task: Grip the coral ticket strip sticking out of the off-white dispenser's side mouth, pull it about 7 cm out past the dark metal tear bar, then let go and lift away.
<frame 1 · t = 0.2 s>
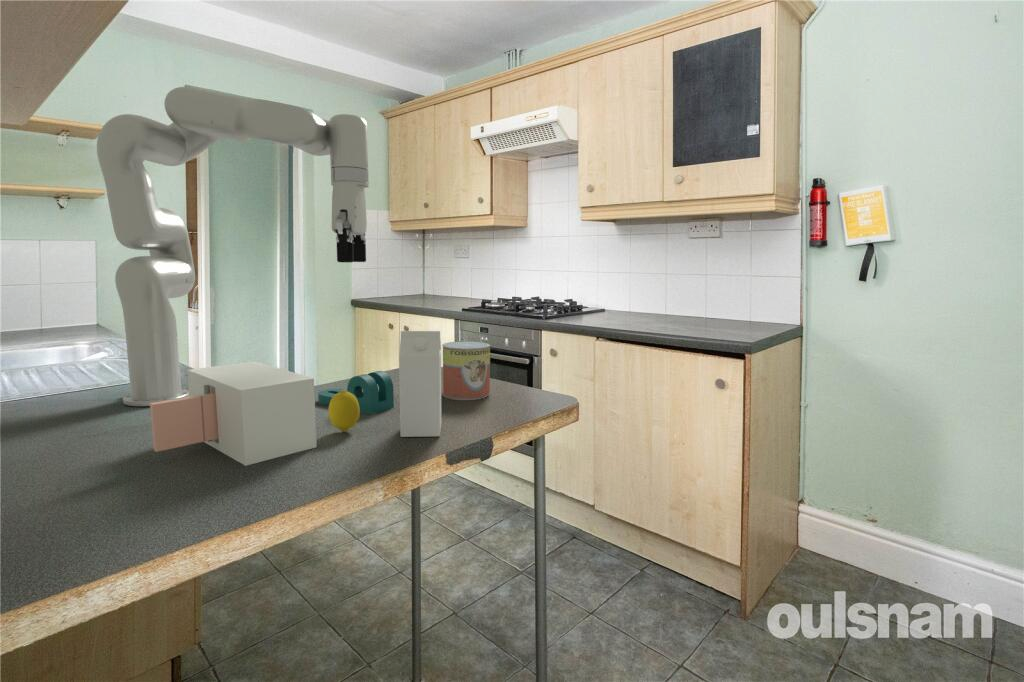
hand: (352, 262, 120), 31 cm above the counter, tool pointing down, fingers open, 9 cm apart
lemon: (345, 433, 105), on the counter
bracket: (352, 406, 124), on the counter
ticket strip: (214, 416, 94), point 6 cm above the counter, slide at 0.0 cm
ticket dispenser: (252, 440, 99), on the counter
canned food: (466, 395, 135), on the counter
milk carton: (421, 432, 106), on the counter
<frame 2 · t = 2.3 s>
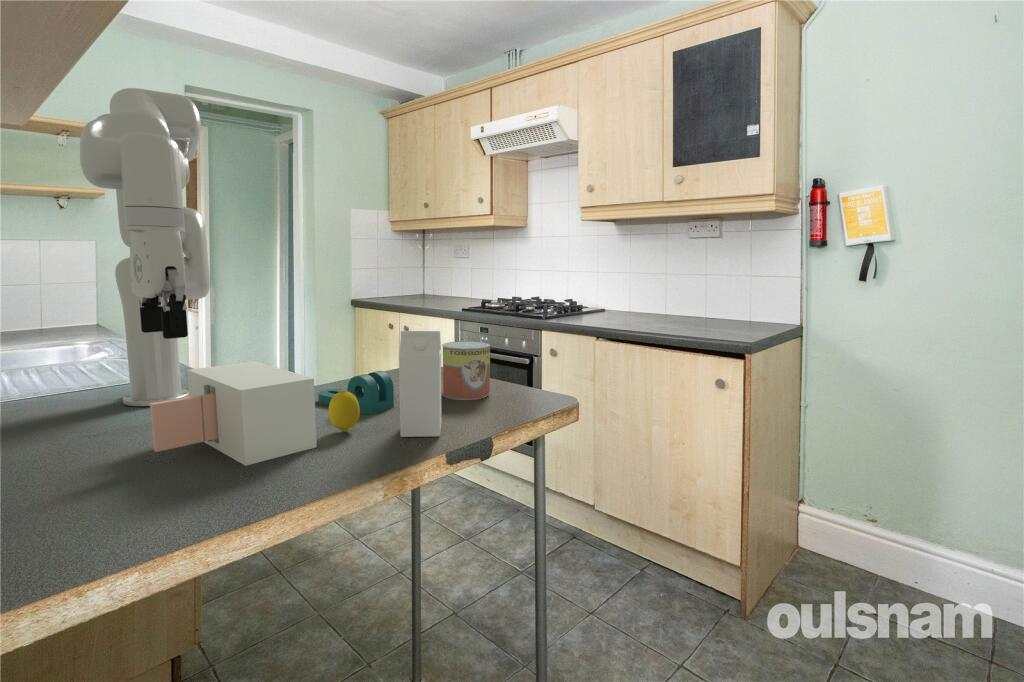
hand: (164, 334, 87), 20 cm above the counter, tool pointing down, fingers open, 9 cm apart
nothing on the counter moved.
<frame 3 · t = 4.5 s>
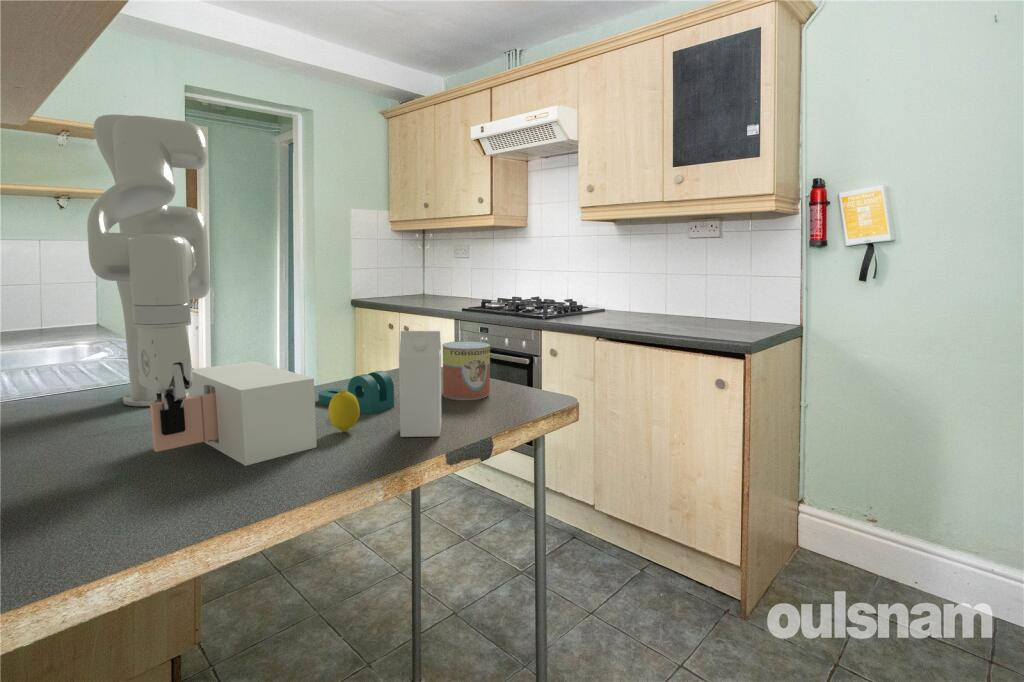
hand: (171, 431, 89), 5 cm above the counter, tool pointing down, fingers closed
ticket strip: (214, 416, 94), point 6 cm above the counter, slide at 0.0 cm, touching gripper
everything else where it was.
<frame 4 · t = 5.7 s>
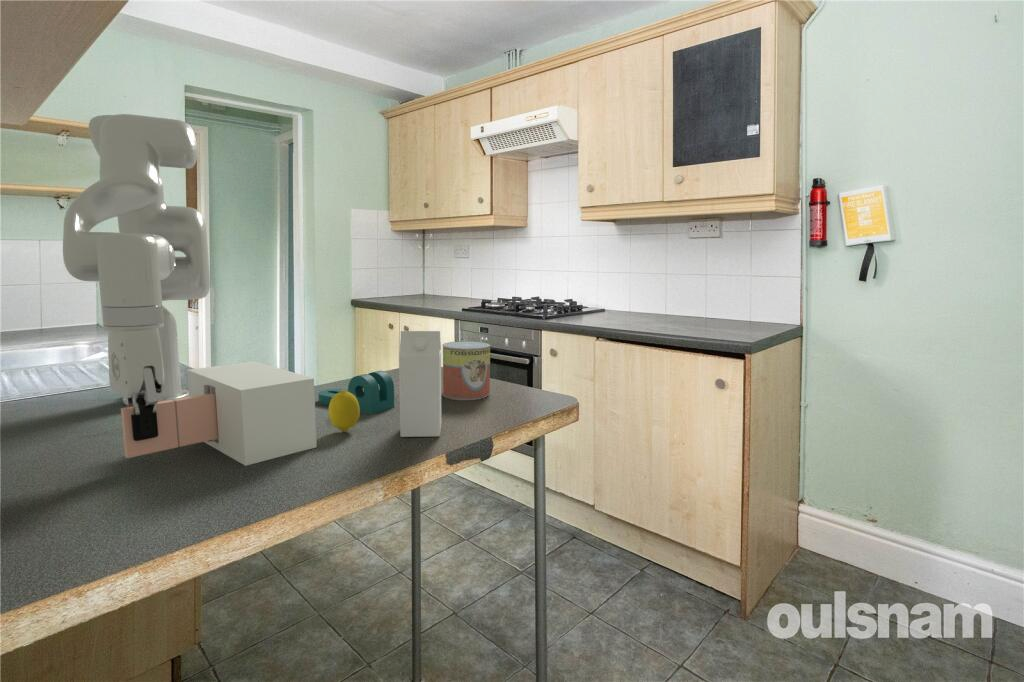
hand: (143, 436, 87), 5 cm above the counter, tool pointing down, fingers closed
ticket strip: (189, 420, 91), point 6 cm above the counter, slide at 3.8 cm, touching gripper
everything else where it was.
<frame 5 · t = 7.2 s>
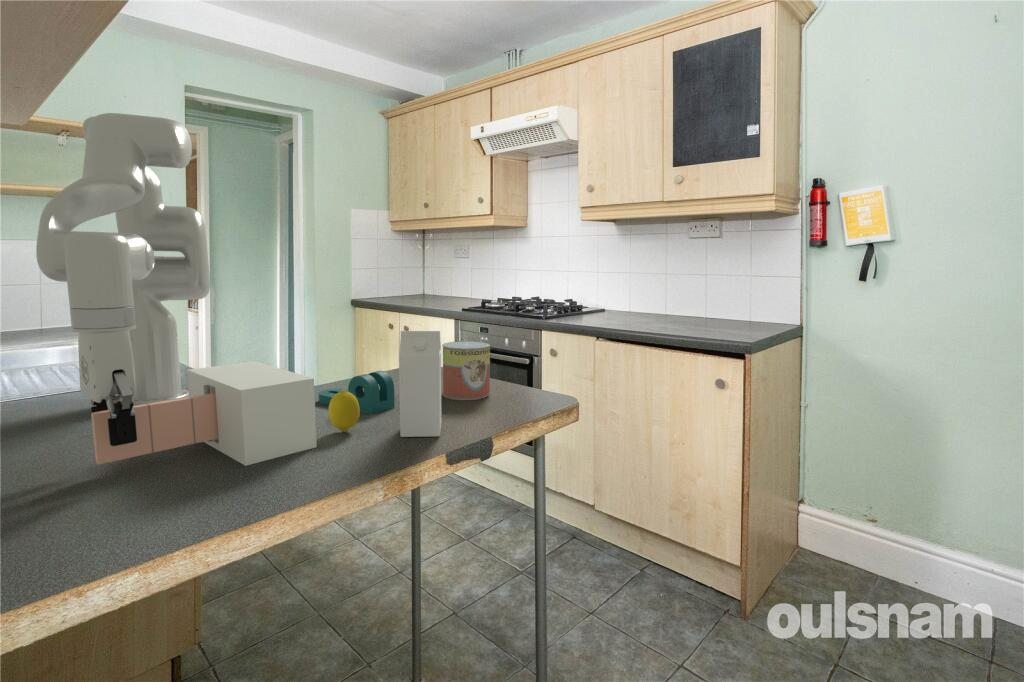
hand: (114, 436, 84), 6 cm above the counter, tool pointing down, fingers open, 8 cm apart
ticket strip: (164, 425, 89), point 6 cm above the counter, slide at 7.5 cm
everything else where it was.
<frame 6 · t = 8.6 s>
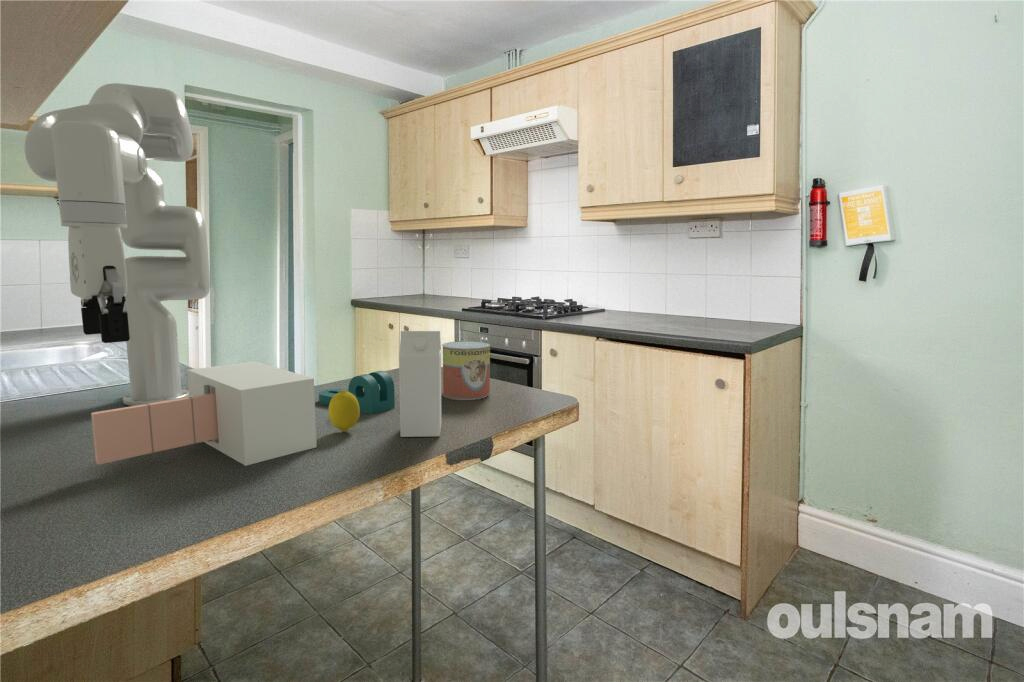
hand: (106, 337, 82), 20 cm above the counter, tool pointing down, fingers open, 9 cm apart
nothing on the counter moved.
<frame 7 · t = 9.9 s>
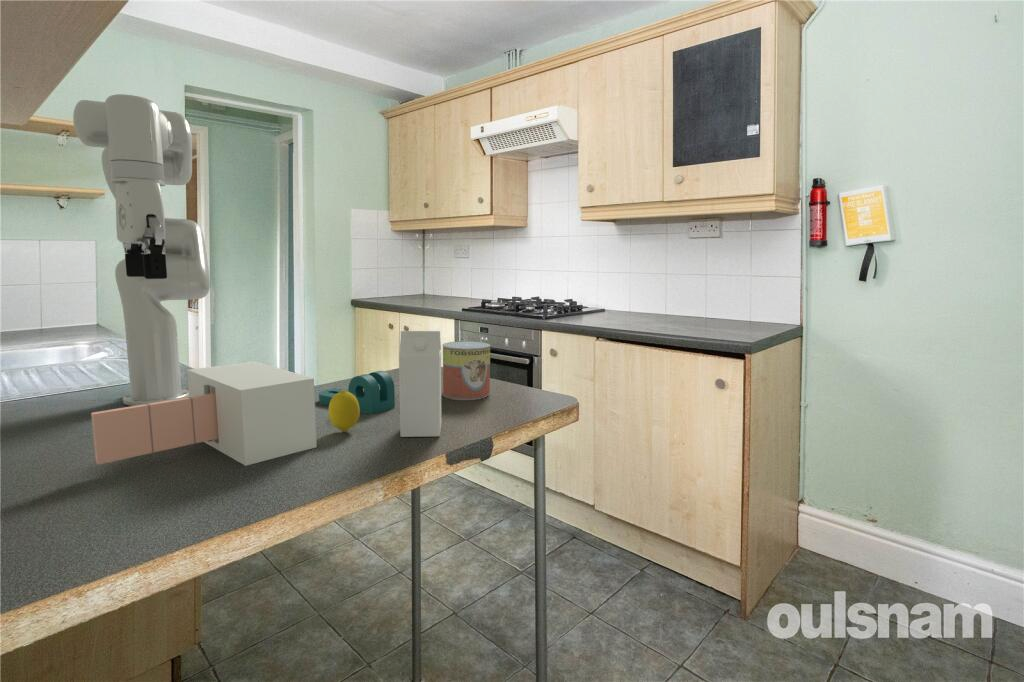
hand: (146, 277, 98), 28 cm above the counter, tool pointing down, fingers open, 9 cm apart
nothing on the counter moved.
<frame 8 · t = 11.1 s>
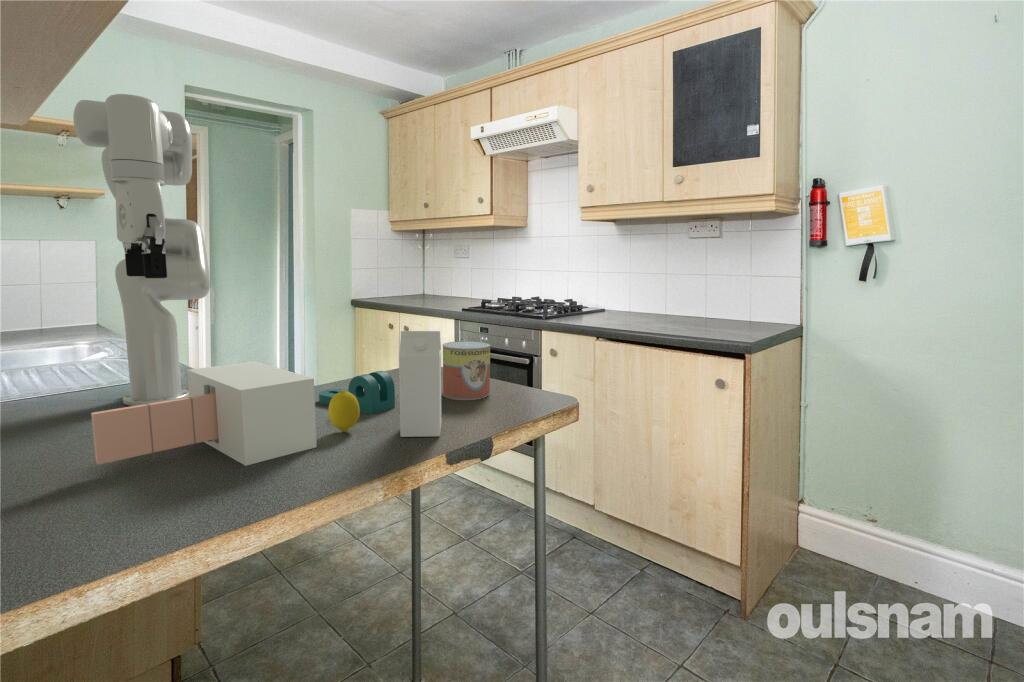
hand: (146, 277, 98), 28 cm above the counter, tool pointing down, fingers open, 9 cm apart
nothing on the counter moved.
at the end: ticket strip slide at 7.5 cm; the gripper is holding nothing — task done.
